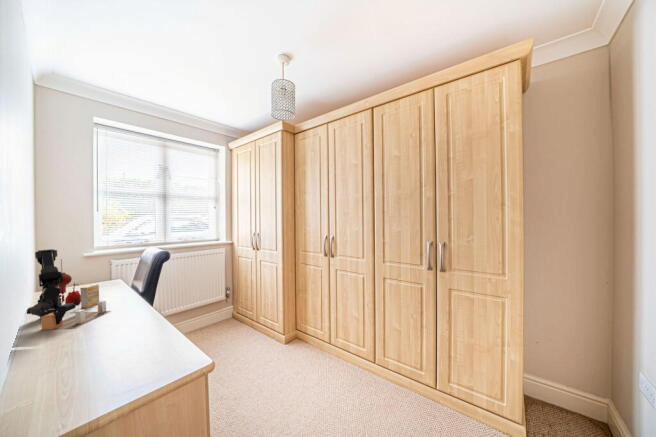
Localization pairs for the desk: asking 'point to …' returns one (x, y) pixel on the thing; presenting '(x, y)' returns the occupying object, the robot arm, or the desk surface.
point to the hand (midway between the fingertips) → (52, 324)
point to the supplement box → (89, 295)
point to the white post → (80, 316)
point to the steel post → (101, 306)
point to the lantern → (64, 282)
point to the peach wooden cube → (49, 322)
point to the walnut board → (71, 323)
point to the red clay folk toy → (73, 297)
